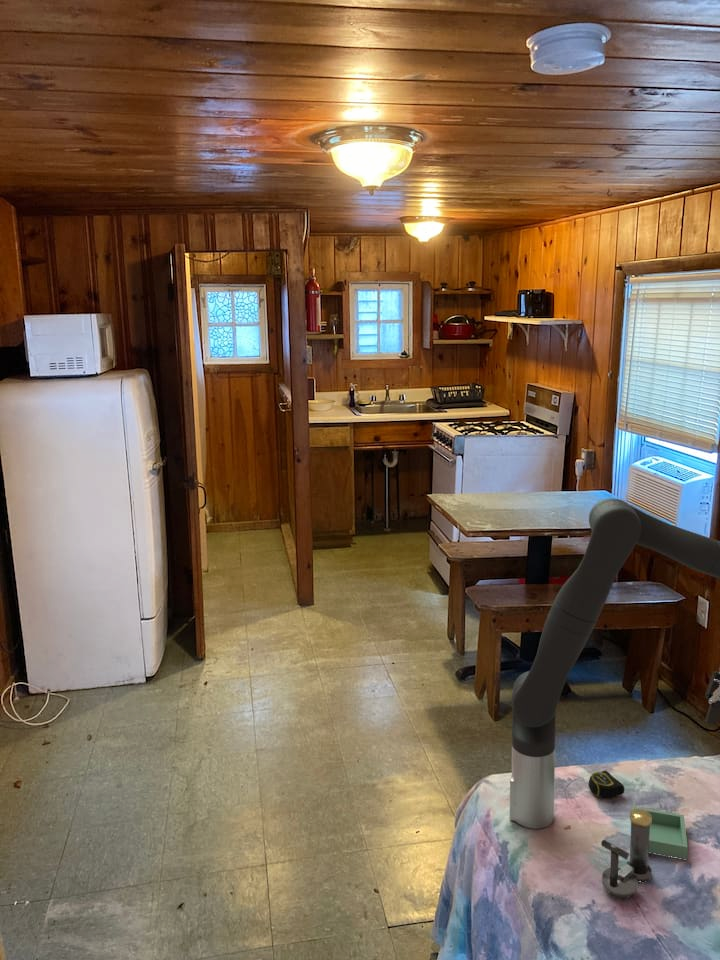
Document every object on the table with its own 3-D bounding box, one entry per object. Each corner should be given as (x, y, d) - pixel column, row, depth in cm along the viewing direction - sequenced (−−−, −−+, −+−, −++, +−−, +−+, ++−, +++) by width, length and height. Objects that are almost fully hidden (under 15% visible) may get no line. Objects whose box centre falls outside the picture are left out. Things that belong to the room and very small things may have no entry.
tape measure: (625, 798, 170) (626, 783, 169) (600, 804, 168) (600, 790, 167) (607, 781, 176) (607, 767, 176) (582, 787, 174) (582, 773, 174)
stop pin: (625, 879, 145) (627, 820, 142) (625, 863, 149) (627, 805, 147) (651, 884, 143) (654, 825, 141) (650, 868, 148) (653, 810, 145)
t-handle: (625, 909, 138) (627, 857, 135) (595, 890, 142) (596, 840, 140) (645, 890, 142) (647, 840, 140) (614, 872, 147) (616, 824, 145)
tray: (631, 850, 153) (631, 837, 152) (630, 818, 163) (631, 806, 162) (686, 860, 149) (687, 847, 149) (683, 827, 159) (683, 815, 159)
